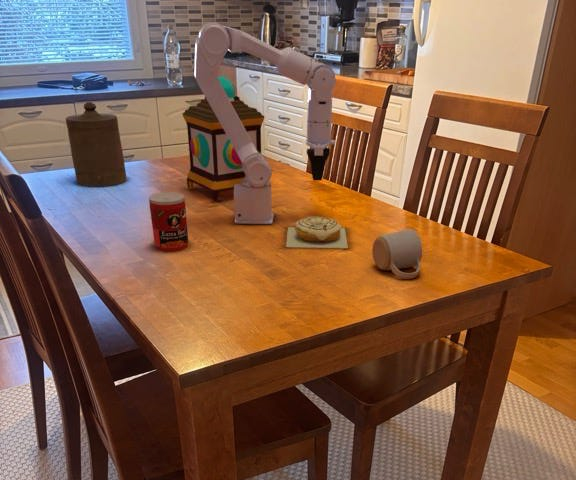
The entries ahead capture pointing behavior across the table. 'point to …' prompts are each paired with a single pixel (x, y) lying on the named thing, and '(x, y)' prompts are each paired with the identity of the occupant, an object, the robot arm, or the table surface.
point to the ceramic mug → (398, 252)
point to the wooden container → (96, 148)
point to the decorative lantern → (218, 144)
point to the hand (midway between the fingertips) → (317, 179)
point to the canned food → (169, 221)
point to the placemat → (298, 242)
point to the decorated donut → (318, 229)
